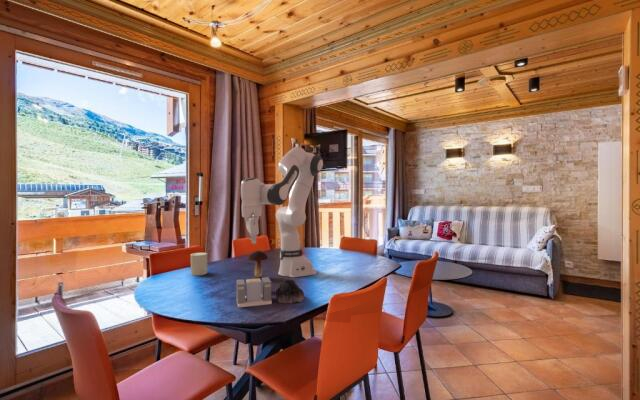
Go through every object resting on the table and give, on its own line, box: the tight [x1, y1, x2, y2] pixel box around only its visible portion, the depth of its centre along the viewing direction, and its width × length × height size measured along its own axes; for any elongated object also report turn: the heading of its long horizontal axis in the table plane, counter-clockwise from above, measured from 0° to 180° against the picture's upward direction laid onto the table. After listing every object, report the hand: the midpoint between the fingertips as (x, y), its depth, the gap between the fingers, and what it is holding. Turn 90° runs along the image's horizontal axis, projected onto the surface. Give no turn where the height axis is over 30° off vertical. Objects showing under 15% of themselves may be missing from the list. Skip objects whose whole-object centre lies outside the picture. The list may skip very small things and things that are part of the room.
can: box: [190, 252, 208, 276], centre depth 187 cm, size 9×9×12 cm
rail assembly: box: [235, 276, 273, 308], centre depth 139 cm, size 14×11×9 cm
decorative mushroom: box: [247, 250, 269, 279], centre depth 178 cm, size 11×11×15 cm
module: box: [245, 277, 262, 301], centre depth 139 cm, size 6×5×8 cm
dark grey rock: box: [275, 279, 305, 304], centre depth 142 cm, size 14×14×10 cm
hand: (253, 242), depth 149 cm, fingers open, 8 cm apart
